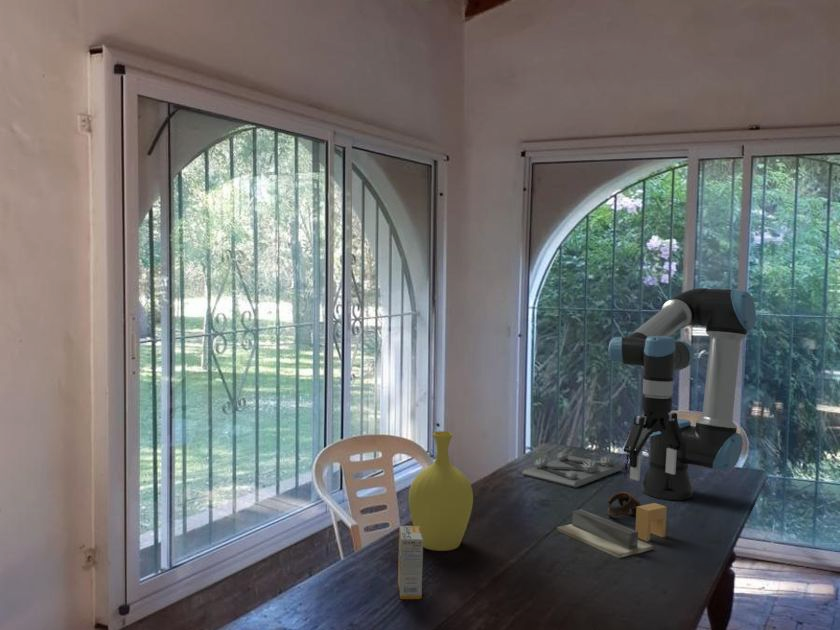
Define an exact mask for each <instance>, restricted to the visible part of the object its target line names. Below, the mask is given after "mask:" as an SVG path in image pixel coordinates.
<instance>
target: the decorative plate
mask: <svg viewBox="0 0 840 630" xmlns="http://www.w3.org/2000/svg"><path fill="white" fill-rule="evenodd" d="M546 459H547V458H546ZM546 459H545V458H544V459H543V458H542V457H539V459H537V458H536V460H535V462H533V466H532V467H529V468H525V469H524V470H523V471H522V472H521V473H522V476H525V477H529V478H532V479H533V478H534V479H537V480H541V481H546V482H548V483H549V482H550V483H553V484H558V485H562V486H565V487H569V488H570V487H571V488H574V489H577V488H579V487H582V486H585V485H588V484H590V482H591V483H593V482H596V481H598V480H601V479H603V477H604V478H607V477H609V476H611V474H612V475H614V474H616V472H617V473H619V472H620V471H622V469H621V467H620V466H619V465H616V464H615V460H614V459H613V458H612V457H611V456H609V457H607V456H604V457H603V456H601V458H600V461H599V460H596V459H594V460H592V459H589V458H584V457H579V456H574V455H569V454H567V452H563V451H561V452H558V453H557V455H556V459H553V460H551V461H546ZM618 471H619V472H618ZM613 473H614V474H613ZM608 475H609V476H608ZM595 480H596V481H595Z"/></svg>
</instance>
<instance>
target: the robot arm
mask: <svg viewBox="0 0 840 630" xmlns="http://www.w3.org/2000/svg"><path fill="white" fill-rule="evenodd" d="M756 311H757V310H756V304H755V301H754V297H753V296H752V294H751V293H750V292H748V291H746V290H739V289H728V288H726V289H723V288H721V289H720V288H705V287H702V288H701V287H699V288H692V289H688V290H686V291H684V292H681V293H679V294H676V295H674V296H673V297H671V298H670V299H669V300H667V301H665V302H664V304H663V305H662V307H661V310H659V311H658V312H657V313H655V314H654V315H653V316H652V317H651V318H649V319H648V320H646V322H644V323H643V324H642V325H640V326H639V327H638V328H637V329H635V330H634V331H633V332H632V333H630V334H629V335H627V337H625V336H614V337H612V338H611V340H610V341H609V343H608V349H607V351H608V352H607V353H608V357H609V358H608V359H609V360H610V361H611V362H612V363H615V364H620V365H627V366H637V367H643V375H642V376H643V377H642V378H643V379H642V394H643V395H642V397H641V410H643V415H642V416H641V415H639V414H638V415H637V414H635V415H634V416H633V417H634V419H633V423H632V426H631V429H630V431H629V435H628V437H627V439H626V442H625V445H624V447H623V452H624V453H626V454H629V463H628V465H629V467H630V468H629V479H631V480H634V481H637V482H639V481H640V479H641V466H642V464H641V462H642V461H641V460H642V455H641V454H640V452H641V451H642V450H643V448H644V446H645V444H646V442H647V441H648V440H649V459H648V461H649V464H648V468H647V471H646V474H645V476H644V480H643V481H642V484H641V492H642V493H644V494H645V495H647V496H649V497H653V498H657V499H661V500H662V499H663V500H673V501H681V500H689V499H691V498H692V497H693V491H694V489H693V486H692V482H691V478H690V475H689V465H690V466H696V467H701V468H706V469H710V470H711V469H712V470H713V471H723V472H728V471H732V470H733V469H734V468H736V465H737V464H738V461H739V460H740V457H741V453H742V449H743V443H744V442H743V435H742V434H740V433H739V432H737V431H738V426H737V425H736V424H735V423H734V420H733V416H734V407H735V406H734V405H735V399H736V398H735V397H736V396H735V395H736V387H737V380H738V379H737V377H738V367H739V361H740V360H739V359H740V349H741V342H742V341H743V339H745V338H746V337H747V334H748V331H752V330H753V329H754V328H755V324H756V320H757V312H756ZM688 326H697V327H698V326H699V327H706V328H705V333H706V334H707V335H708V337H709V349H708V357H707V367H706V374H705V375H706V377H705V385H704V394H703V395H704V396H703V402H702V403H703V404H702V405H703V406H702V414H701V417H700V418H698V419H697V420H696V421H695V426H692V423H691V421H690V420H689V419H686V418H685V419H683V418H678V413H676V412H673V411H672V409H673V398H672V396H673V393H674V372H675V371H682V370H684V369H686V368H688V367H689V366H691V365H692V364H693V362H694V359H695V351H694V349H693V347H692V346H691V344H689V343H688V342H685V341H679V340H675V338H673V337H671V336H672V335H673V334H674V333H675V332H677V331H678V330H681V329H684V328H687V327H688Z"/></svg>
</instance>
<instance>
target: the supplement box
mask: <svg viewBox="0 0 840 630" xmlns="http://www.w3.org/2000/svg"><path fill="white" fill-rule="evenodd" d="M398 533H399V534H398V557H397V558H398V562H397V563H398V564H397V565H398V566H397V567H398V568H397V569H398V570H397V571H398V573H397V586H398V590H399V598H400V599H401V600H420V599H422V598H423V597H422V595H423V590H422V589H423V563H424V562H423V560H424V559H423V558H424V556H423V555H424V547H423V537H422V533H421V528H420V526H413V525H400V526H399V529H398Z"/></svg>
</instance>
